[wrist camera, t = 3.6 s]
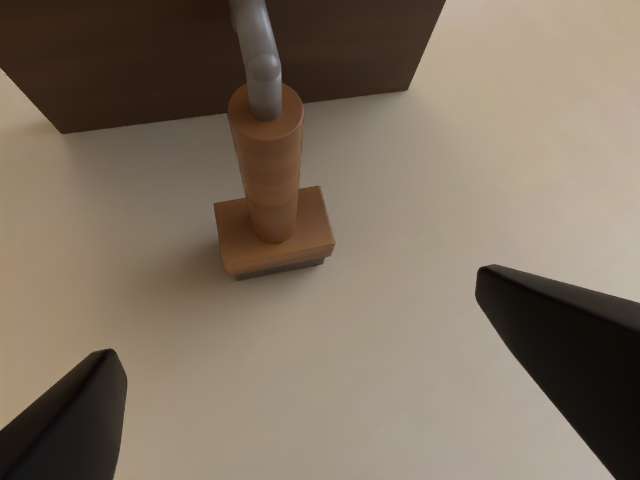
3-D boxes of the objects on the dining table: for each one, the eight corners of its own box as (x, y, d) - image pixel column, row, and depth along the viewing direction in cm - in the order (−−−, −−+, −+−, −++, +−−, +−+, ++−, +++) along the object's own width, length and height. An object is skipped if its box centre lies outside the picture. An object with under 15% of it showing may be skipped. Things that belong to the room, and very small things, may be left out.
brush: (327, 266, 22) (392, 95, 9) (233, 285, 21) (145, 127, 8) (305, 180, 24) (332, -69, 11) (219, 194, 23) (127, -58, 10)
